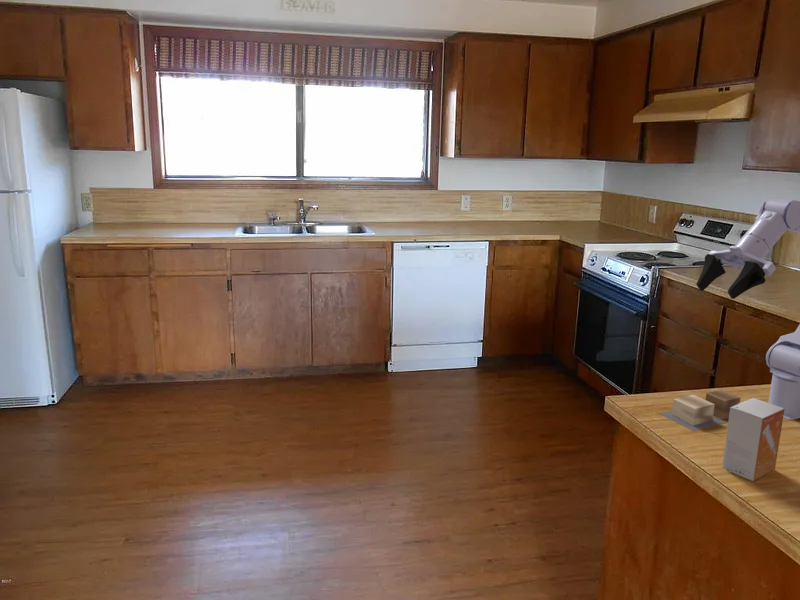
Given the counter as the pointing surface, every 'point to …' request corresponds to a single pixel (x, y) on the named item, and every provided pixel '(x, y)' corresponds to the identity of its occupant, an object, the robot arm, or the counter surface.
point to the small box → (753, 438)
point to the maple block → (693, 409)
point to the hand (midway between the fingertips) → (714, 291)
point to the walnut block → (722, 402)
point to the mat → (689, 426)
